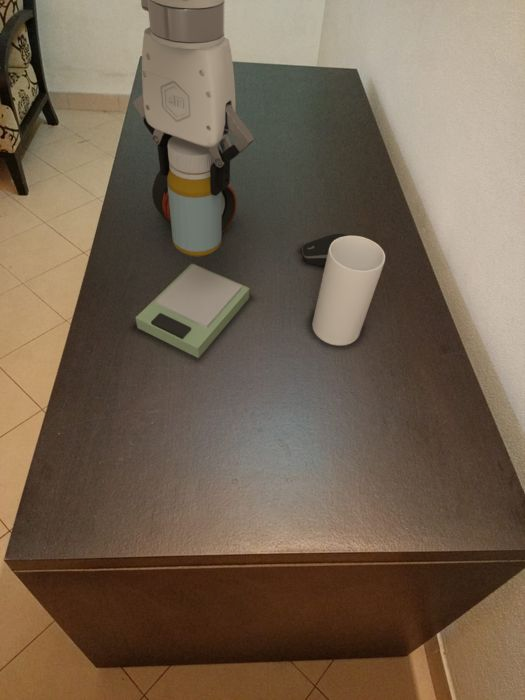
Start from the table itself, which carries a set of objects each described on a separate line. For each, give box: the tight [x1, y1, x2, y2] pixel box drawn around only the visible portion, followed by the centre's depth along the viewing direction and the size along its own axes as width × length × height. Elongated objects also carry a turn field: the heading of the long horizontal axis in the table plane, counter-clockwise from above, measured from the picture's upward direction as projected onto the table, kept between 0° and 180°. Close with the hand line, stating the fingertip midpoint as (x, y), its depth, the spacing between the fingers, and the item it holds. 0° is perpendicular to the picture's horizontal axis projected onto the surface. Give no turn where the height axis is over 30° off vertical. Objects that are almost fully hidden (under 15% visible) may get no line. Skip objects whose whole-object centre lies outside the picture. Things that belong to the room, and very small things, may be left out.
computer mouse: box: [301, 233, 350, 267], centre depth 90 cm, size 7×12×4 cm, turn 91°
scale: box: [135, 263, 250, 359], centre depth 79 cm, size 16×12×3 cm
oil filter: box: [151, 170, 237, 235], centre depth 90 cm, size 13×12×13 cm
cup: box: [311, 235, 386, 346], centre depth 74 cm, size 8×8×16 cm
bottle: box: [167, 136, 222, 257], centre depth 63 cm, size 7×7×15 cm
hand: (194, 179), depth 61 cm, fingers closed on bottle, 7 cm apart
